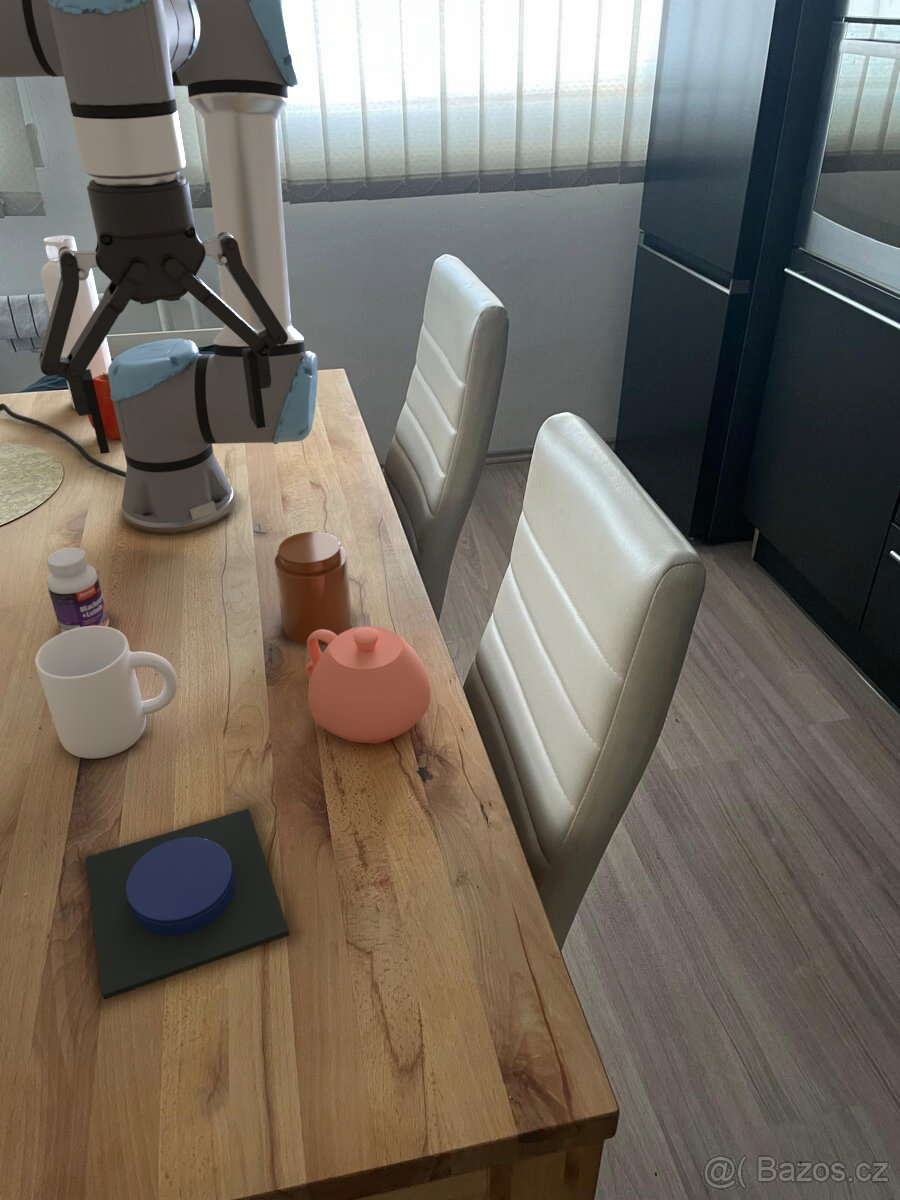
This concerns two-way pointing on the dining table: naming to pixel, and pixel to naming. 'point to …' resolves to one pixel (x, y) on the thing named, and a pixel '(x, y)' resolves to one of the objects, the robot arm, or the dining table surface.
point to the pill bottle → (75, 590)
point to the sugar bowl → (366, 684)
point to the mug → (98, 690)
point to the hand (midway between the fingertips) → (182, 434)
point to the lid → (180, 886)
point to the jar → (313, 585)
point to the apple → (106, 407)
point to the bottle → (83, 305)
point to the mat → (152, 957)
